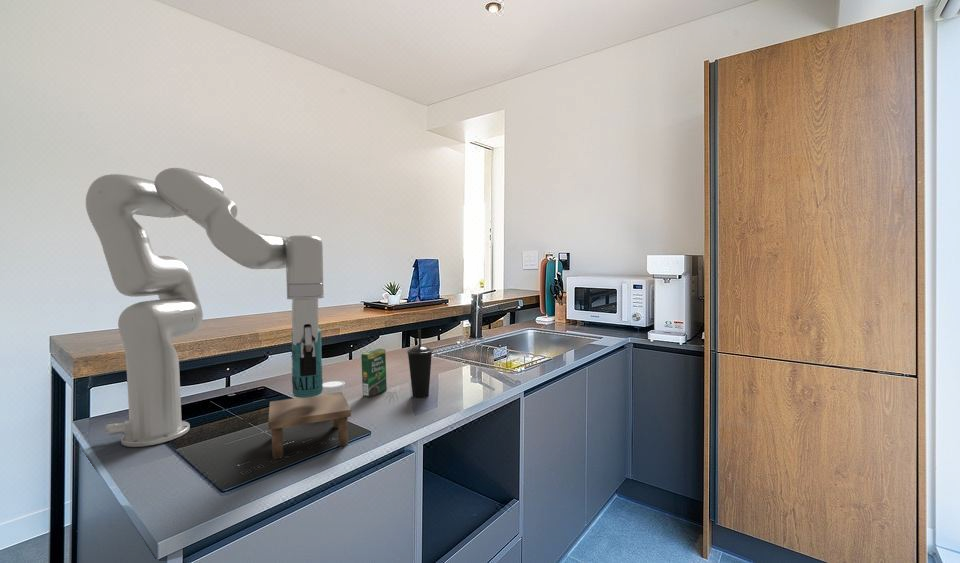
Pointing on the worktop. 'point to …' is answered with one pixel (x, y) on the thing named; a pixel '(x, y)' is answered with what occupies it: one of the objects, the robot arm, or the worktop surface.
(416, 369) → the drinking cup
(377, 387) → the coffee box
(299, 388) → the beverage bottle
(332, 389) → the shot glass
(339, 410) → the walnut stool
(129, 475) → the worktop surface
